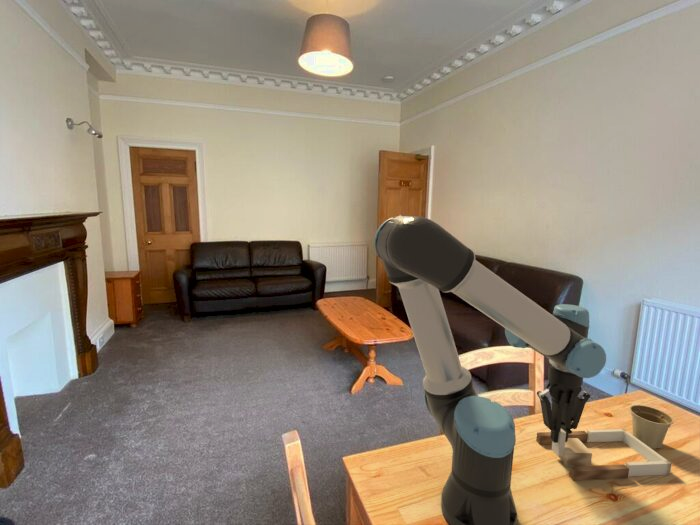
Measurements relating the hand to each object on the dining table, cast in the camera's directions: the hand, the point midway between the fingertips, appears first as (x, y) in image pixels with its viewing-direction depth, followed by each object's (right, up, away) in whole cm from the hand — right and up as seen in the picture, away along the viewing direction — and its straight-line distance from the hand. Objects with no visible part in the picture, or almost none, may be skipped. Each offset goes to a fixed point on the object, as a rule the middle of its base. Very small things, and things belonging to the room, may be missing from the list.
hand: (557, 452), depth 93 cm
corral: (+19, -2, +2) cm, 19 cm away
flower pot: (+30, -1, +8) cm, 30 cm away
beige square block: (+4, -2, +1) cm, 5 cm away
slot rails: (+6, -2, +1) cm, 6 cm away
